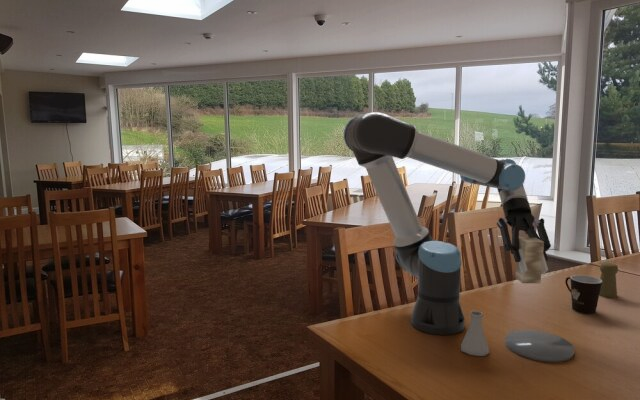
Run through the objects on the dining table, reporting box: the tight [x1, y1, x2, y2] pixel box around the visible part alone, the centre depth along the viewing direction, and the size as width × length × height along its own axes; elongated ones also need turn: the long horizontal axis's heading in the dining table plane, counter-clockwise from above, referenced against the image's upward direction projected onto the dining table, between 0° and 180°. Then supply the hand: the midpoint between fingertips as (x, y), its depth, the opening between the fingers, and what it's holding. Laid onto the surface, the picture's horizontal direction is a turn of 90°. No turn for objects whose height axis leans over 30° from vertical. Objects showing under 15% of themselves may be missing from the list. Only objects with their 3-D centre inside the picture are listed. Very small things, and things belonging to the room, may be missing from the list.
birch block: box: [515, 237, 544, 284], centre depth 132 cm, size 5×5×12 cm
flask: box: [460, 310, 490, 357], centre depth 118 cm, size 7×7×10 cm
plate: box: [504, 329, 575, 363], centre depth 120 cm, size 16×16×1 cm
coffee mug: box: [565, 274, 602, 315], centre depth 146 cm, size 12×9×10 cm
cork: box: [599, 262, 619, 299], centre depth 158 cm, size 6×6×11 cm
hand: (534, 271), depth 129 cm, fingers closed on birch block, 5 cm apart
